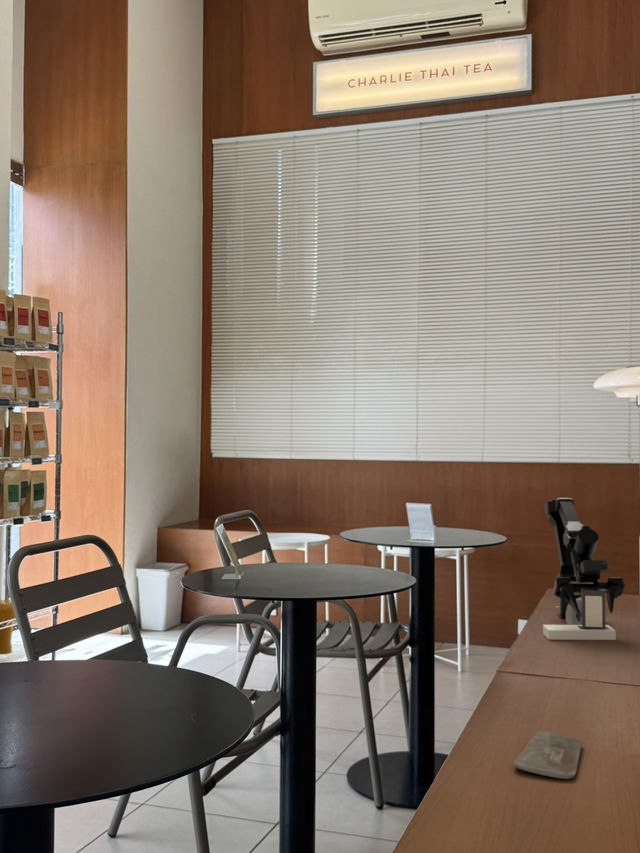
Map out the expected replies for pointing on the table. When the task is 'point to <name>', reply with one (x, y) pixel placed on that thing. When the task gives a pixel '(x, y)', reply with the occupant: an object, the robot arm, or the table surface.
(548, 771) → the stone
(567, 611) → the game controller
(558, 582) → the robot arm
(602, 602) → the charcoal grey box
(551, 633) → the recessed rectangular block
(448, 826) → the table surface
